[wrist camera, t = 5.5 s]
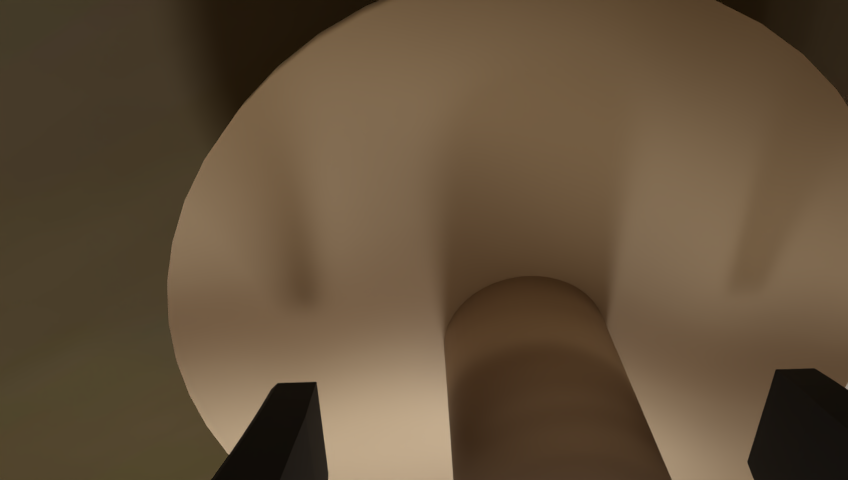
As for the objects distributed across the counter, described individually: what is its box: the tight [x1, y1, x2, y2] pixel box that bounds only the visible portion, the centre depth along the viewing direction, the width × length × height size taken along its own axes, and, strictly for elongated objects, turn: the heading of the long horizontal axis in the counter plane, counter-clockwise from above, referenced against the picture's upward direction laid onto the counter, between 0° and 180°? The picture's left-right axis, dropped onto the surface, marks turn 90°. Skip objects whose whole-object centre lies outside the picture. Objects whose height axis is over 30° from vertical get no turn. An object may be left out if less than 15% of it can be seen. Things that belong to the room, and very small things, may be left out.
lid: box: [167, 0, 848, 480], centre depth 11 cm, size 13×13×5 cm
